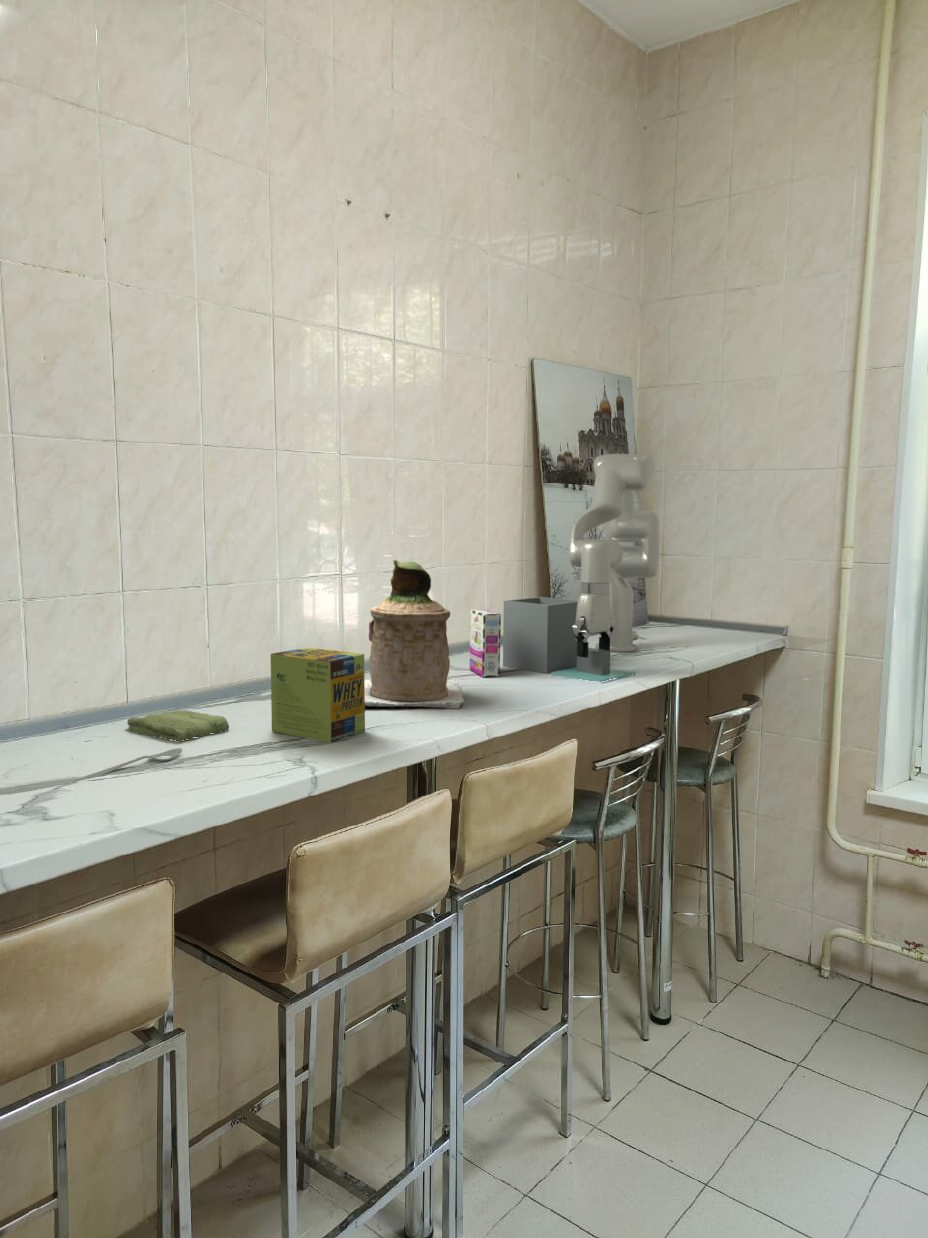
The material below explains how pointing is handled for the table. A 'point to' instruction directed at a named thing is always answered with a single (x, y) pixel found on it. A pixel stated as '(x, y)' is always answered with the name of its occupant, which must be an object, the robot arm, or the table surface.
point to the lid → (593, 667)
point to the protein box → (318, 693)
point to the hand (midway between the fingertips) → (593, 654)
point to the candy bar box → (485, 643)
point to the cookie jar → (410, 646)
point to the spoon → (170, 753)
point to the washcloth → (178, 724)
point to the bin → (539, 634)
